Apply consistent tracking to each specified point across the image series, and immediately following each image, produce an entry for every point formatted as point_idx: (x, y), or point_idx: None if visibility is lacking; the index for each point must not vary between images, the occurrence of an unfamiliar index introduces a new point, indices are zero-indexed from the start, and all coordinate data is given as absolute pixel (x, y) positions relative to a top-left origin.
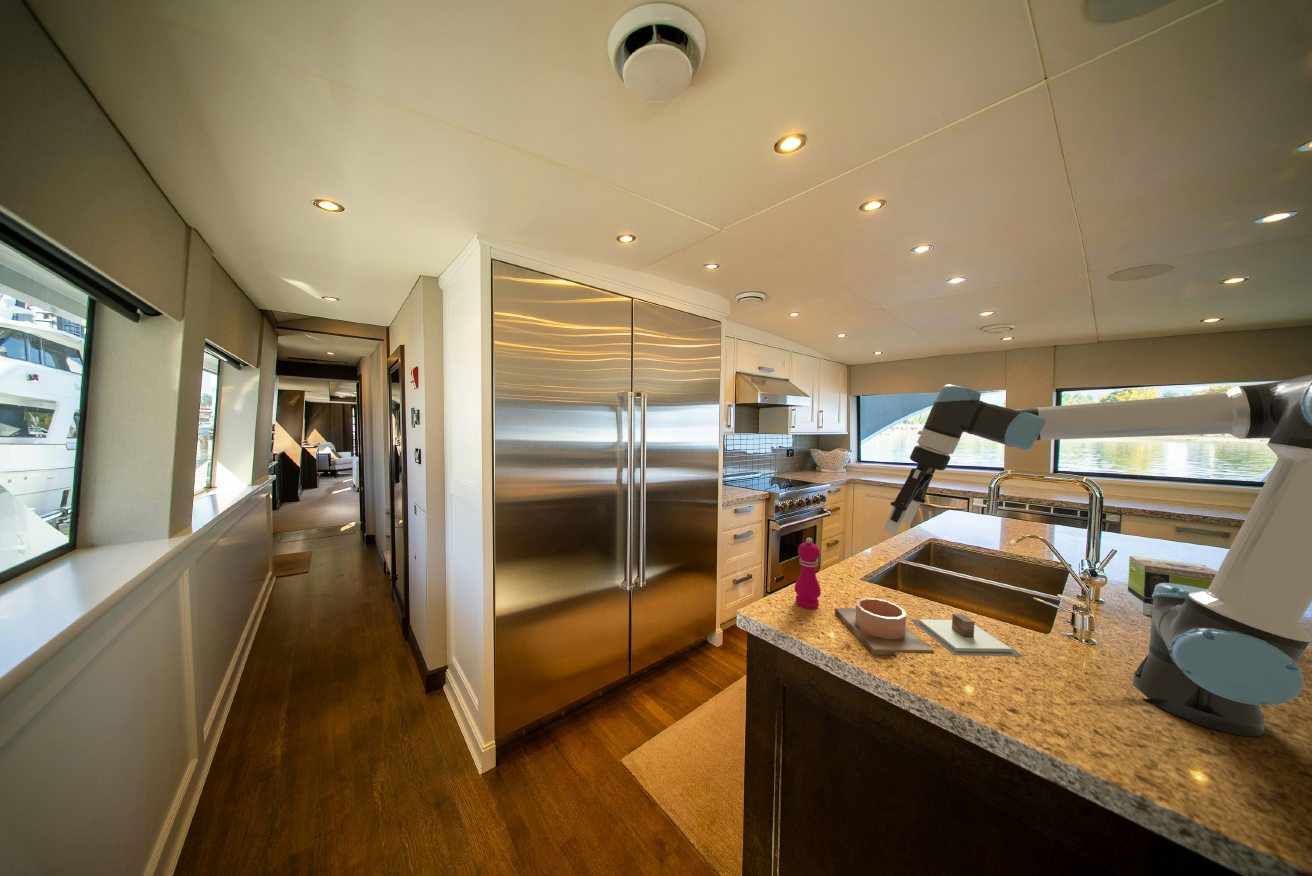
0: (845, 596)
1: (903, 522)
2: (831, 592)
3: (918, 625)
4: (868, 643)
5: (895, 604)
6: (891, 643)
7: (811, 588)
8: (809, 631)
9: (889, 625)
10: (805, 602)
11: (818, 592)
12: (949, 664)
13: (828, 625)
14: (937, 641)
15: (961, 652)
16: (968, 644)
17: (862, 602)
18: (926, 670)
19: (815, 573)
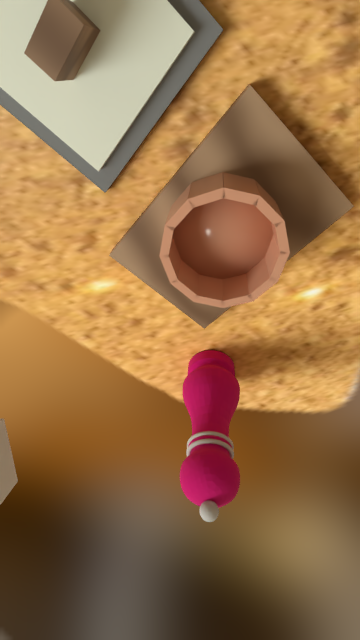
0: (104, 332)
1: (9, 453)
2: (113, 355)
3: (120, 165)
4: (331, 223)
5: (164, 232)
6: (293, 184)
7: (230, 389)
8: (328, 325)
9: (276, 208)
10: (233, 371)
11: (215, 373)
12: (265, 32)
13: (273, 310)
14: (175, 95)
15: (189, 15)
16: (137, 3)
17: (212, 295)
18: (343, 76)
19: (203, 414)
